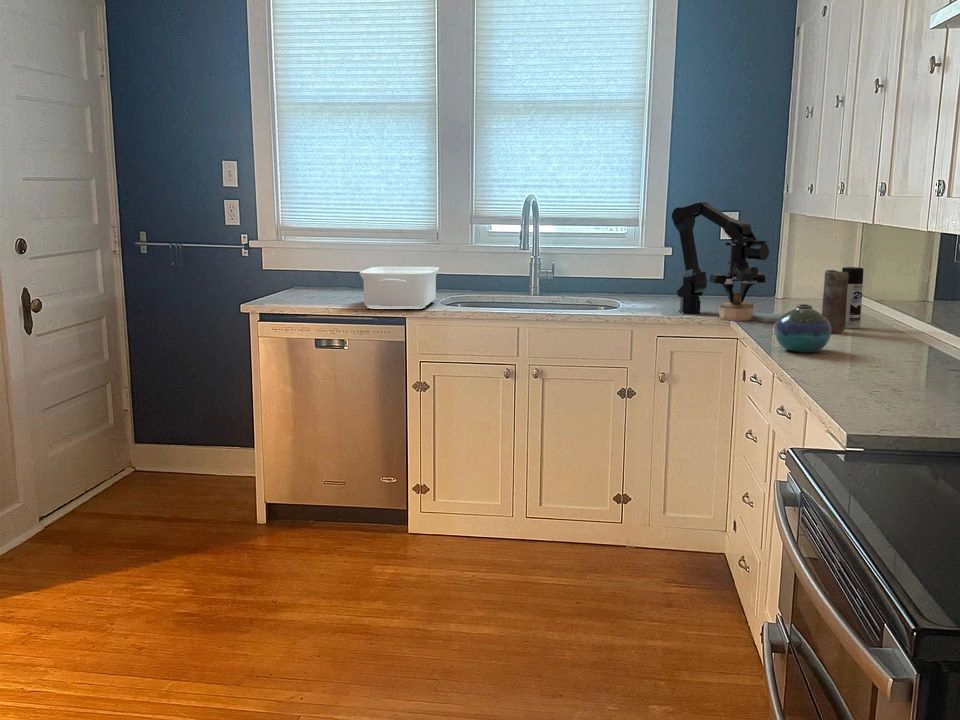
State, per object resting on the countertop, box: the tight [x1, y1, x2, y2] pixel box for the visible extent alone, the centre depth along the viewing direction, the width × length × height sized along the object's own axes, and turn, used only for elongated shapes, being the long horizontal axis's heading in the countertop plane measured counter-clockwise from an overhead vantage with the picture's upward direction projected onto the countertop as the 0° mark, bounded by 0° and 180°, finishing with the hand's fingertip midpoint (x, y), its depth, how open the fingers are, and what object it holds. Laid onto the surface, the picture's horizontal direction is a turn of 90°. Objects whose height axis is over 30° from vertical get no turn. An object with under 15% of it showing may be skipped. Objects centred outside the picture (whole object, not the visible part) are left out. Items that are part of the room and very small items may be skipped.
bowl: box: [718, 306, 754, 322], centre depth 317 cm, size 11×11×4 cm
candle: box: [821, 269, 849, 334], centre depth 285 cm, size 8×7×20 cm
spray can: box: [841, 266, 865, 330], centre depth 294 cm, size 7×7×20 cm
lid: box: [718, 291, 754, 309], centre depth 316 cm, size 12×12×5 cm
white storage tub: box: [359, 265, 440, 307], centre depth 355 cm, size 34×29×15 cm
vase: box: [774, 303, 832, 354], centre depth 255 cm, size 15×15×13 cm
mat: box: [751, 313, 785, 323], centre depth 316 cm, size 13×13×1 cm
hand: (736, 302), depth 316 cm, fingers open, 4 cm apart
